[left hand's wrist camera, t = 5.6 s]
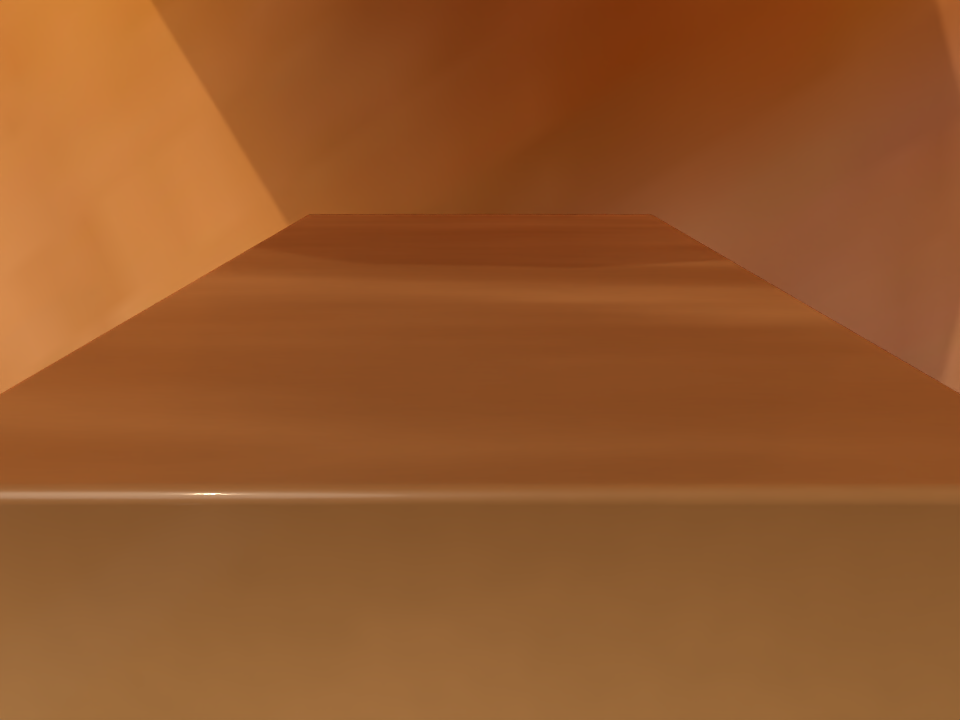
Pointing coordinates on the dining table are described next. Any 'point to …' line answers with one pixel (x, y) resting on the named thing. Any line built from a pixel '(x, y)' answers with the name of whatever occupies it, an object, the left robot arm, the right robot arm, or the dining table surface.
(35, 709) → the box
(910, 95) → the dining table surface
